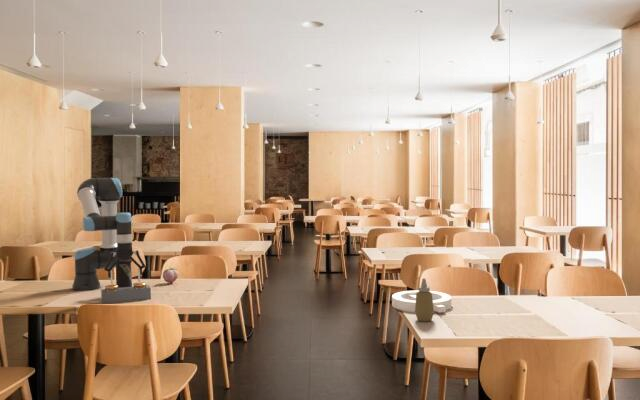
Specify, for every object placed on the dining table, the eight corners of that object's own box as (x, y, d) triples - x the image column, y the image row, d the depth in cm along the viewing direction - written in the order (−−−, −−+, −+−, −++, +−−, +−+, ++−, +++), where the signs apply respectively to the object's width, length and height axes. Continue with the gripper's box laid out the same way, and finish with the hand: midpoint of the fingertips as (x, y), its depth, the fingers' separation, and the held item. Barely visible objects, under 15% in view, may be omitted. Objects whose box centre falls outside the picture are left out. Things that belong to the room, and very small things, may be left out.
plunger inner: (105, 301, 277) (105, 287, 277) (105, 299, 283) (104, 285, 282) (118, 300, 279) (118, 286, 279) (118, 297, 285) (117, 284, 285)
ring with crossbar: (444, 315, 241) (444, 305, 241) (384, 310, 253) (384, 300, 253) (456, 302, 266) (456, 292, 266) (401, 298, 278) (401, 288, 278)
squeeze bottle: (419, 317, 238) (419, 276, 237) (437, 319, 233) (436, 278, 232) (411, 321, 231) (411, 279, 230) (429, 323, 226) (429, 281, 226)
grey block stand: (101, 303, 275) (101, 292, 275) (101, 300, 283) (101, 289, 283) (150, 299, 285) (150, 287, 285) (149, 296, 292) (148, 285, 292)
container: (127, 296, 292) (126, 259, 291) (112, 296, 294) (111, 259, 293) (136, 293, 300) (134, 257, 299) (121, 293, 302) (120, 257, 301)
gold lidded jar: (134, 298, 282) (133, 285, 282) (133, 296, 288) (132, 282, 288) (147, 297, 285) (146, 283, 285) (145, 295, 291) (145, 281, 291)
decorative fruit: (172, 281, 334) (171, 265, 334) (180, 282, 329) (180, 266, 329) (159, 284, 327) (159, 267, 326) (168, 285, 322) (167, 268, 321)
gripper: (98, 244, 274) (100, 285, 275) (150, 241, 284) (151, 281, 285) (98, 242, 281) (99, 283, 282) (148, 240, 291) (149, 279, 292)
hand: (125, 282), depth 284 cm, fingers open, 13 cm apart
